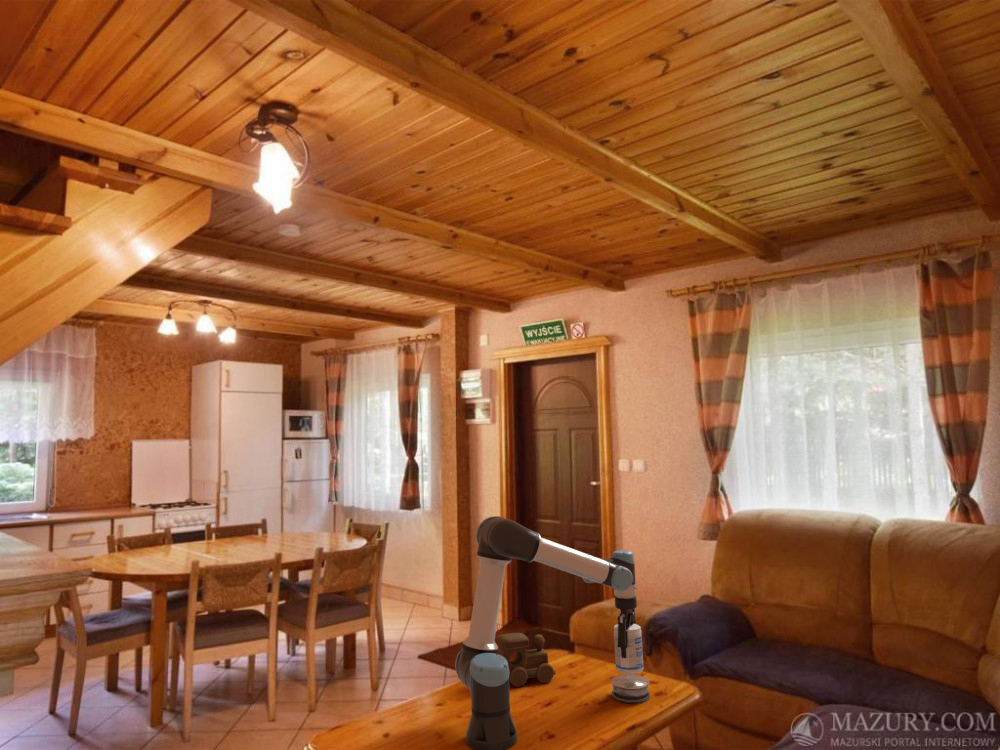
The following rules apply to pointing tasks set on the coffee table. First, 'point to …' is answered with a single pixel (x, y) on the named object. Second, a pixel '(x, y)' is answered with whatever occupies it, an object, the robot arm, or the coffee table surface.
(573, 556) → the robot arm
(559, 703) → the coffee table surface
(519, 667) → the wooden toy train
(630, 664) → the supplement tub
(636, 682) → the duct stub
